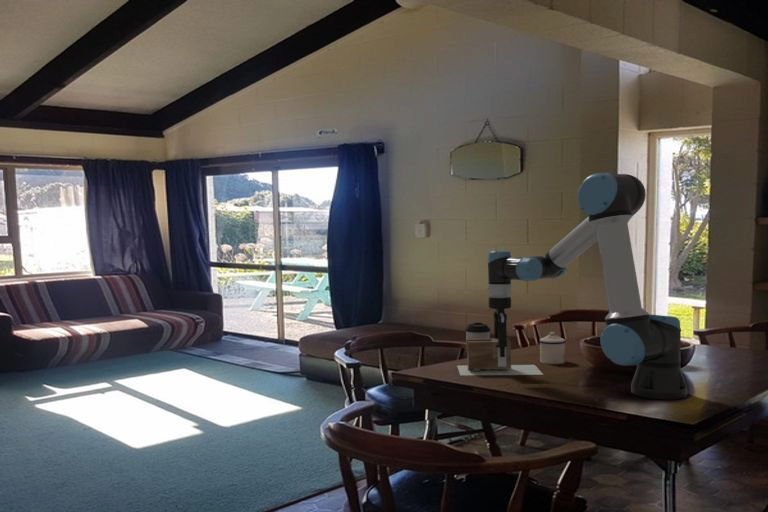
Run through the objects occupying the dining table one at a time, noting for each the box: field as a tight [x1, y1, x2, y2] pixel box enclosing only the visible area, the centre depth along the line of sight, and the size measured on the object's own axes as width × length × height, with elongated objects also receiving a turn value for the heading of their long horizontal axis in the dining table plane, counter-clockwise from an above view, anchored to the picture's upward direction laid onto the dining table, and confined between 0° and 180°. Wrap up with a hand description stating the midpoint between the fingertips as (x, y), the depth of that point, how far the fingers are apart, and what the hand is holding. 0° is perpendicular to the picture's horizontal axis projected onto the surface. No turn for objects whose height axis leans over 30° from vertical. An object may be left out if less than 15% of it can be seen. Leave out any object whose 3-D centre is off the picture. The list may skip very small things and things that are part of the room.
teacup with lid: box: [539, 331, 566, 365], centre depth 242 cm, size 12×9×12 cm
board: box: [456, 364, 545, 376], centre depth 228 cm, size 16×27×6 cm, turn 88°
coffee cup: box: [464, 322, 491, 345], centre depth 242 cm, size 9×9×15 cm
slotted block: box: [466, 337, 512, 369], centre depth 228 cm, size 7×14×9 cm, turn 87°
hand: (500, 364), depth 228 cm, fingers closed on slotted block, 7 cm apart
